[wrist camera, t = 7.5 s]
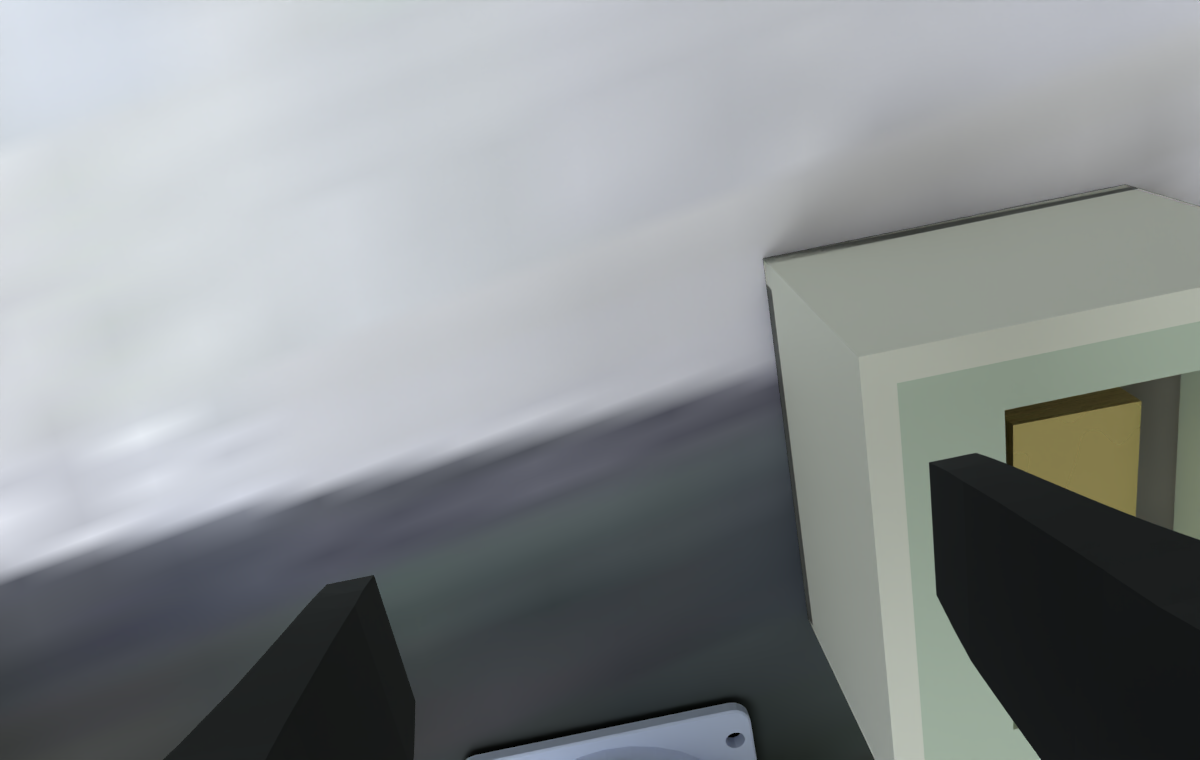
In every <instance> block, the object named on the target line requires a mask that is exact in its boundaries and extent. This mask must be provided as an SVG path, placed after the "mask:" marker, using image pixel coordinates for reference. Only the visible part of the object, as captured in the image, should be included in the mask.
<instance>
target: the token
mask: <svg viewBox="0 0 1200 760" xmlns="http://www.w3.org/2000/svg"><path fill="white" fill-rule="evenodd" d="M1141 404H1142V401H1141V400H1139V399H1138V398H1136V397H1135V396H1133V395H1131V394H1130V393H1128V392H1127V391H1125V390H1123V389H1122V388H1120V387H1116V388H1111V389H1106V390H1101V391H1096V392H1091V393H1087V394H1082V395H1077V396H1072V397H1067V398H1062V399H1057V400H1052V401H1048V402H1043V403H1038V404H1033V405H1028V406H1023V407H1018V408H1014V409H1009V410H1005V439H1006V464H1008V465H1011V466H1013V467H1016V468H1018V469H1021V470H1023V471H1025V472H1028V473H1030V474H1033V475H1035V476H1037V477H1040V478H1042V479H1044V480H1047V481H1049V482H1051V483H1054V484H1056V485H1059V486H1061V487H1063V488H1066V489H1068V490H1070V491H1073V492H1075V493H1078V494H1080V495H1082V496H1085V497H1087V498H1090V499H1092V500H1095V501H1097V502H1099V503H1102V504H1104V505H1107V506H1109V507H1112V508H1114V509H1117V510H1119V511H1122V512H1124V513H1127V514H1130V515H1132V516H1135V517H1136V500H1137V481H1138V462H1139V443H1140V423H1141Z"/></svg>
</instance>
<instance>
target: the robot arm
mask: <svg viewBox="0 0 1200 760" xmlns="http://www.w3.org/2000/svg"><path fill="white" fill-rule="evenodd" d="M929 474H930V492H931V509H932V527H933V545H934V563H935V581H936V595H937V597H938V599H939V601H940V603H941V605H942V607H943V609H944V611H945V613H946V615H947V617H948V619H949V621H950V623H951V625H952V627H953V629H954V631H955V633H956V634H957V636H958V638H959V640H960V642H961V644H962V646H963V647H964V649H965V651H966V653H967V655H968V657H969V658H970V660H971V662H972V663H973V665H974V666H975V668H976V669H977V670H978V672H979V673H980V675H981V676H982V678H983V679H984V681H985V682H986V683H987V685H988V686H989V688H990V689H991V690H992V692H993V693H994V695H995V696H996V698H997V699H998V700H999V702H1000V703H1001V705H1002V706H1003V707H1004V709H1005V710H1006V712H1007V713H1008V715H1009V716H1010V717H1011V719H1012V720H1013V721H1014V723H1015V724H1016V726H1017V727H1018V728H1019V730H1020V731H1021V733H1022V734H1023V735H1024V737H1025V738H1026V740H1027V741H1028V742H1029V744H1030V745H1031V747H1032V748H1033V749H1034V751H1035V752H1036V754H1037V755H1038V756H1039V758H1040V759H1041V760H1200V540H1199V539H1196V538H1193V537H1190V536H1187V535H1184V534H1182V533H1179V532H1176V531H1173V530H1170V529H1167V528H1164V527H1162V526H1159V525H1156V524H1153V523H1151V522H1148V521H1145V520H1143V519H1140V518H1137V517H1135V516H1132V515H1130V514H1127V513H1124V512H1122V511H1119V510H1117V509H1114V508H1112V507H1109V506H1107V505H1104V504H1102V503H1099V502H1097V501H1095V500H1092V499H1090V498H1087V497H1085V496H1082V495H1080V494H1078V493H1075V492H1073V491H1070V490H1068V489H1066V488H1063V487H1061V486H1059V485H1056V484H1054V483H1051V482H1049V481H1047V480H1044V479H1042V478H1040V477H1037V476H1035V475H1033V474H1030V473H1028V472H1025V471H1023V470H1021V469H1018V468H1016V467H1013V466H1011V465H1008V464H1006V463H1003V462H1001V461H998V460H996V459H993V458H990V457H987V456H984V455H981V454H978V453H972V454H967V455H962V456H958V457H953V458H948V459H943V460H938V461H933V462H929ZM414 732H415V699H414V696H413V693H412V690H411V687H410V684H409V681H408V678H407V675H406V672H405V669H404V665H403V662H402V659H401V656H400V653H399V650H398V647H397V644H396V641H395V638H394V635H393V632H392V629H391V626H390V623H389V620H388V617H387V614H386V611H385V608H384V605H383V602H382V599H381V596H380V592H379V589H378V586H377V583H376V580H375V577H374V575H372V576H367V577H362V578H357V579H352V580H347V581H342V582H337V583H332V584H327V585H326V586H325V587H324V588H323V589H322V590H321V591H320V592H319V593H318V594H317V595H316V596H315V597H314V598H313V599H312V600H311V602H310V603H309V604H308V605H307V606H306V607H305V608H304V609H303V611H302V612H301V613H300V614H299V615H298V616H297V617H296V619H295V620H294V621H293V622H292V623H291V624H290V625H289V627H288V628H287V629H286V630H285V631H284V632H283V633H282V635H281V636H280V637H279V638H278V639H277V640H276V642H275V643H274V644H273V645H272V646H271V647H270V648H269V649H268V651H267V652H266V653H265V654H264V655H263V656H262V657H261V658H260V660H259V661H258V662H257V663H256V664H255V665H254V666H253V667H252V668H251V670H250V671H249V672H248V673H247V674H246V675H245V676H244V677H243V679H242V680H241V681H240V682H239V683H238V684H237V685H236V686H235V687H234V689H233V690H232V691H231V692H230V693H229V694H228V695H227V696H226V697H225V698H224V699H223V700H222V701H221V702H220V703H219V704H218V705H217V706H216V707H215V708H214V709H213V710H212V711H211V712H210V713H209V714H208V715H207V716H206V717H205V718H204V719H203V720H202V721H201V722H200V723H199V725H198V726H197V727H196V728H195V729H194V730H193V731H192V732H191V733H190V734H189V735H188V736H187V737H186V738H185V739H184V740H183V741H182V742H181V743H180V744H179V745H178V746H177V747H176V748H175V749H174V750H173V751H172V752H171V753H170V754H169V755H168V756H167V757H166V758H164V759H163V760H413V758H414ZM732 733H740V734H739V735H738V736H736V737H728V736H729V735H730V734H732ZM466 760H757V757H756V751H755V744H754V738H753V732H752V726H751V720H750V717H749V714H748V712H747V709H746V708H745V707H744V706H743V705H741V704H738V703H725V704H720V705H715V706H710V707H705V708H700V709H696V710H691V711H686V712H681V713H676V714H671V715H667V716H662V717H657V718H652V719H647V720H642V721H638V722H633V723H628V724H623V725H618V726H613V727H609V728H604V729H599V730H594V731H589V732H584V733H580V734H575V735H570V736H565V737H560V738H555V739H550V740H546V741H541V742H536V743H531V744H526V745H521V746H517V747H512V748H507V749H502V750H497V751H492V752H488V753H483V754H478V755H474V756H471V757H469V758H467V759H466Z"/></svg>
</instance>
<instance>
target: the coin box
mask: <svg viewBox="0 0 1200 760" xmlns="http://www.w3.org/2000/svg"><path fill="white" fill-rule="evenodd" d="M763 263H764V271H765V279H766V287H767V295H768V303H769V311H770V319H771V327H772V335H773V343H774V351H775V359H776V367H777V375H778V383H779V391H780V399H781V407H782V415H783V423H784V431H785V439H786V447H787V455H788V463H789V471H790V479H791V487H792V495H793V503H794V511H795V519H796V527H797V535H798V543H799V551H800V559H801V567H802V575H803V583H804V591H805V599H806V607H807V615H808V620H809V622H810V624H811V626H812V628H813V630H814V632H815V634H816V637H817V639H818V641H819V643H820V645H821V647H822V649H823V651H824V654H825V656H826V658H827V660H828V662H829V664H830V666H831V668H832V670H833V673H834V675H835V677H836V679H837V681H838V683H839V685H840V687H841V689H842V692H843V694H844V696H845V698H846V700H847V702H848V704H849V706H850V708H851V711H852V713H853V715H854V717H855V719H856V721H857V723H858V725H859V728H860V730H861V732H862V734H863V736H864V738H865V740H866V742H867V744H868V747H869V749H870V751H871V753H872V755H873V757H874V759H875V760H1041V759H1040V758H1039V756H1038V755H1037V754H1036V752H1035V751H1034V749H1033V748H1032V747H1031V745H1030V744H1029V742H1028V741H1027V740H1026V738H1025V737H1024V735H1023V734H1022V733H1021V731H1020V730H1019V728H1018V727H1017V726H1016V724H1015V723H1014V721H1013V720H1012V719H1011V717H1010V716H1009V715H1008V713H1007V712H1006V710H1005V709H1004V707H1003V706H1002V705H1001V703H1000V702H999V700H998V699H997V698H996V696H995V695H994V693H993V692H992V690H991V689H990V688H989V686H988V685H987V683H986V682H985V681H984V679H983V678H982V676H981V675H980V673H979V672H978V670H977V669H976V668H975V666H974V665H973V663H972V662H971V660H970V658H969V657H968V655H967V653H966V651H965V649H964V647H963V646H962V644H961V642H960V640H959V638H958V636H957V634H956V633H955V631H954V629H953V627H952V625H951V623H950V621H949V619H948V617H947V615H946V613H945V611H944V609H943V607H942V605H941V603H940V601H939V599H938V597H937V595H936V581H935V563H934V545H933V527H932V509H931V492H930V474H929V462H933V461H938V460H943V459H948V458H953V457H958V456H962V455H967V454H972V453H978V454H981V455H984V456H987V457H990V458H993V459H996V460H998V461H1001V462H1003V463H1006V439H1005V410H1009V409H1014V408H1018V407H1023V406H1028V405H1033V404H1038V403H1043V402H1048V401H1052V400H1057V399H1062V398H1067V397H1072V396H1077V395H1082V394H1087V393H1091V392H1096V391H1101V390H1106V389H1111V388H1116V387H1120V388H1122V389H1123V390H1125V391H1127V392H1128V393H1130V394H1131V395H1133V396H1135V397H1136V398H1138V399H1139V400H1141V401H1142V404H1141V423H1140V443H1139V462H1138V481H1137V500H1136V517H1137V518H1140V519H1143V520H1145V521H1148V522H1151V523H1153V524H1156V525H1159V526H1162V527H1164V528H1167V529H1170V530H1173V531H1176V532H1179V533H1182V534H1184V535H1187V536H1190V537H1193V538H1196V539H1199V540H1200V207H1199V206H1196V205H1193V204H1189V203H1186V202H1182V201H1179V200H1176V199H1172V198H1169V197H1165V196H1162V195H1159V194H1155V193H1152V192H1148V191H1145V190H1142V189H1138V188H1135V187H1132V186H1128V185H1121V186H1117V187H1112V188H1107V189H1102V190H1097V191H1092V192H1087V193H1082V194H1077V195H1072V196H1068V197H1063V198H1058V199H1053V200H1048V201H1043V202H1038V203H1033V204H1028V205H1023V206H1019V207H1014V208H1009V209H1004V210H999V211H994V212H989V213H984V214H979V215H974V216H970V217H965V218H960V219H955V220H950V221H945V222H940V223H935V224H930V225H925V226H921V227H916V228H911V229H906V230H901V231H896V232H891V233H886V234H881V235H876V236H872V237H867V238H862V239H857V240H852V241H847V242H842V243H837V244H832V245H827V246H823V247H818V248H813V249H808V250H803V251H798V252H793V253H788V254H783V255H778V256H774V257H769V258H764V259H763Z"/></svg>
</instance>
